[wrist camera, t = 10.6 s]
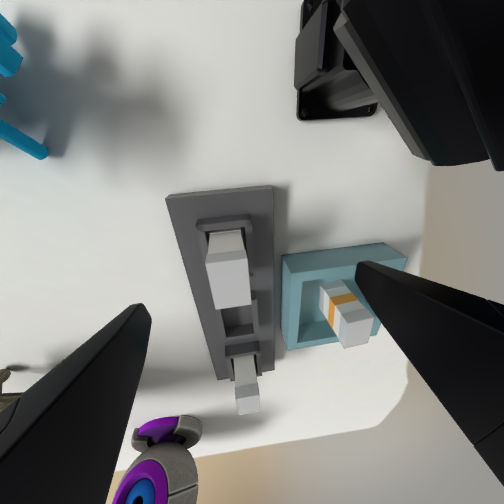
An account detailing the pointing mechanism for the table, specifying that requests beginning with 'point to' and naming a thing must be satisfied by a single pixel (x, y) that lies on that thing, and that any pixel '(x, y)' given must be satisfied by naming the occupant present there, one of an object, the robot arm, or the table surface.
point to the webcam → (162, 463)
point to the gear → (5, 63)
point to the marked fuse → (345, 314)
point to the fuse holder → (259, 266)
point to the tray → (308, 289)
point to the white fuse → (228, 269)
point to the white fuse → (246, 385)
